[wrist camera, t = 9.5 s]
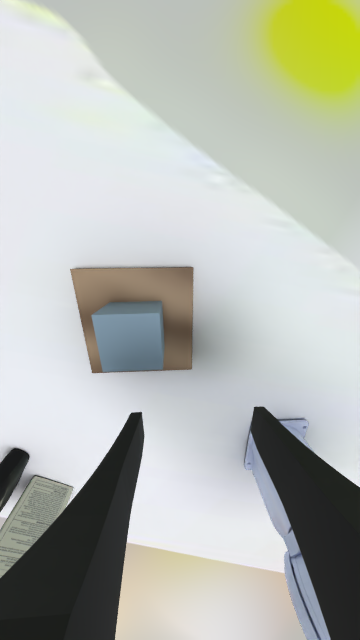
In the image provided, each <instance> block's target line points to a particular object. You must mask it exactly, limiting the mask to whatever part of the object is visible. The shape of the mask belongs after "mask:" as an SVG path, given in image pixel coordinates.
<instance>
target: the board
mask: <svg viewBox="0 0 360 640" xmlns="http://www.w3.org/2000/svg"><path fill="white" fill-rule="evenodd" d="M70 270H71V275H72V280H73V285H74V289H75V294H76V299H77V303H78V308H79V313H80V318H81V322H82V327H83V332H84V336H85V341H86V346H87V351H88V355H89V360H90V365H91V369H92V373H109V372H103V371H102V366H101V361H100V356H99V351H98V346H97V341H96V336H95V331H94V326H93V321H92V316H91V315H92V314H94V313H95V312H97V311H98V310H100V309H101V308H102V307H104V306H105V305H107V304H108V303H110V302H141V301H162V309H163V327H164V345H165V348H164V361H163V370H189V369H192V319H193V267H173V268H86V269H70ZM141 371H162V370H141ZM119 372H136V371H119Z"/></svg>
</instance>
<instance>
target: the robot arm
mask: <svg viewBox="0 0 360 640" xmlns="http://www.w3.org/2000/svg"><path fill="white" fill-rule="evenodd" d="M308 425H309V423H308V421H307V420H287V421H278V420H277V419H276V418H275V417H274V416H273V415H272V414H271V413H270V412H269V411H268V410H267V409H266V408H265V407H254V412H253V418H252V424H251V429H250V435H249V441H248V446H247V452H246V458H245V464H244V467H245V469H246V470H252V472H253V475H254V477H255V480H256V482H257V485H258V488H259V490H260V493H261V496H262V498H263V501H264V503H265V506H266V509H267V511H268V514H269V516H270V519H271V521H272V523H273V525H274V527H275V529H276V530H277V532H278V533H279V534H280V535H281V537H282V538H283V539H284V541H285V544H286V546H287V549H288V551H286V553H285V555H284V563H285V567H284V569H285V577H286V582H287V586H288V590H289V593H290V597H291V600H292V603H293V606H294V608H295V611H296V614H297V617H298V619H299V622H300V624H301V627H302V629H303V631H304V634H305V636H306V638H307V640H360V487H358V486H357V485H355V484H354V483H353V482H351V481H350V480H348V479H347V478H346V477H344V476H343V475H342V474H340V473H339V472H338V471H336V470H335V469H334V468H333V467H331V466H330V465H329V464H327V463H326V462H325V461H324V460H322V459H321V458H320V457H319V456H317V455H316V454H315V453H314V452H313V450H312V449H311V447H310V446H309V445H308V443H307V442H306V441H305V439H304V437H305V434H306V431H307V428H308ZM143 443H144V429H143V420H142V412H135V413H131V414H130V416H129V418H128V420H127V422H126V423H125V425H124V427H123V429H122V430H121V432H120V434H119V436H118V437H117V439H116V440H115V442H114V444H113V445H112V447H111V448H110V450H109V452H108V453H107V454H106V456H105V457H104V459H103V460H102V462H101V463H100V465H99V466H98V468H97V469H96V470H95V472H94V473H93V474H92V476H91V477H90V478H89V480H88V481H87V482H86V484H85V485H84V486H83V488H82V489H81V490H80V491H79V493H78V494H77V495H76V496H75V497H74V499H73V500H72V501H71V502H70V504H69V505H68V506H67V507H66V508H65V509H64V511H63V512H62V513H61V514H60V515H59V516H58V517H57V519H56V520H55V521H54V522H53V523H52V524H51V525H50V526H49V527H48V529H47V530H46V531H45V532H44V533H43V534H42V535H41V536H40V537H39V539H38V540H37V541H36V542H35V543H34V544H33V545H32V546H31V547H30V548H29V549H28V550H27V551H26V552H25V553H24V554H23V555H22V556H21V557H20V558H19V559H18V560H17V561H16V562H15V563H14V564H13V565H12V567H11V568H10V569H9V570H8V571H7V572H6V573H5V574H4V575H3V576H2V577H1V578H0V640H115V632H116V624H117V615H118V606H119V598H120V590H121V582H122V573H123V565H124V557H125V550H126V542H127V535H128V528H129V520H130V514H131V508H132V502H133V498H134V493H135V488H136V483H137V478H138V473H139V468H140V463H141V458H142V452H143Z"/></svg>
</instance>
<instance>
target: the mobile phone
mask: <svg viewBox="0 0 360 640" xmlns="http://www.w3.org/2000/svg"><path fill="white" fill-rule="evenodd" d="M28 459H29V456H28V455H27V453H25V452H24V451H21V450H18V449H13V450H12V451H11V452H10V453H9V454H8V455H7V456H6V457H5V458H4V460H3V461H2V462H1V463H0V512H1V510H2V509H3V507H4V506H5V504H6V503H7V501H8V500H9V498H10V496H11V494H12V492H13V490H14V488H15V486H16V484H17V483H18V481H19V479H20V476H21V474H22V472H23V470H24V468H25V466H26V464H27V462H28Z"/></svg>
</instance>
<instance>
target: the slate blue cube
mask: <svg viewBox="0 0 360 640" xmlns="http://www.w3.org/2000/svg"><path fill="white" fill-rule="evenodd" d="M91 316H92V321H93V326H94V331H95V336H96V341H97V346H98V351H99V356H100V361H101V366H102V371H103V372H119V371H141V370H163V361H164V348H165V345H164V327H163V309H162V301H141V302H110V303H108V304H107V305H105V306H104V307H102V308H101V309H100V310H98V311H97V312H95V313H94V314H92V315H91Z"/></svg>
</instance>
